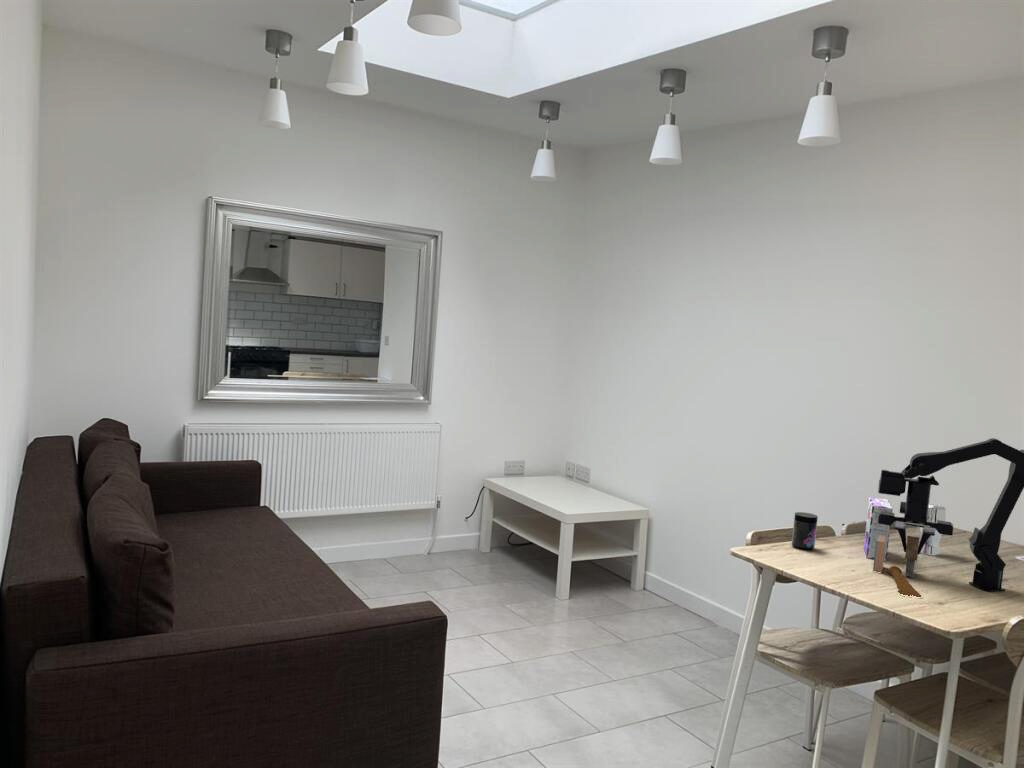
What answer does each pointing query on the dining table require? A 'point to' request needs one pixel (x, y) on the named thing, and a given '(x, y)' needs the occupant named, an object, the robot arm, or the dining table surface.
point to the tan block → (879, 553)
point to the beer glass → (933, 541)
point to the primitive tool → (902, 582)
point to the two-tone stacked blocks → (911, 554)
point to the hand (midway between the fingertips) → (911, 553)
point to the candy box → (876, 526)
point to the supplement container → (804, 531)
